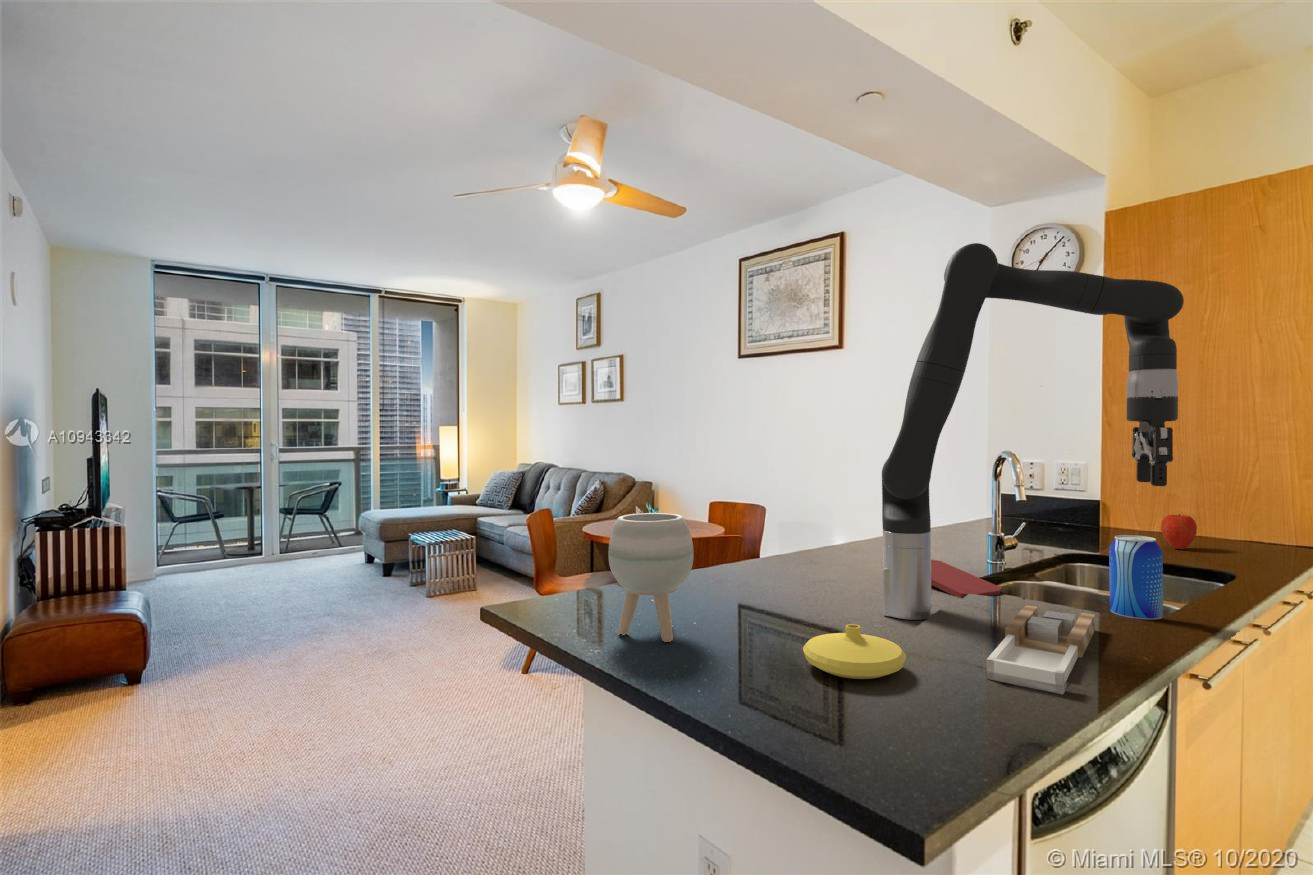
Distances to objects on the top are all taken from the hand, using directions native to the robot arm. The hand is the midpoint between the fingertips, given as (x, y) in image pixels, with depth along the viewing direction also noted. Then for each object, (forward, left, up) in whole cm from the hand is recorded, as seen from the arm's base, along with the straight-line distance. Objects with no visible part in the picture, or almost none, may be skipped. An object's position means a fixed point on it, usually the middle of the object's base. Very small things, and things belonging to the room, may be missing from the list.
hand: (1151, 483), depth 120 cm
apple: (+37, +94, -27) cm, 104 cm away
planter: (-88, -27, -27) cm, 96 cm away
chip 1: (-20, -14, -26) cm, 36 cm away
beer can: (0, +8, -27) cm, 29 cm away
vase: (-51, -35, -28) cm, 68 cm away
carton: (-33, +29, -28) cm, 52 cm away
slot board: (-19, -13, -27) cm, 35 cm away
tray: (-24, -28, -27) cm, 46 cm away
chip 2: (-17, -9, -26) cm, 32 cm away
